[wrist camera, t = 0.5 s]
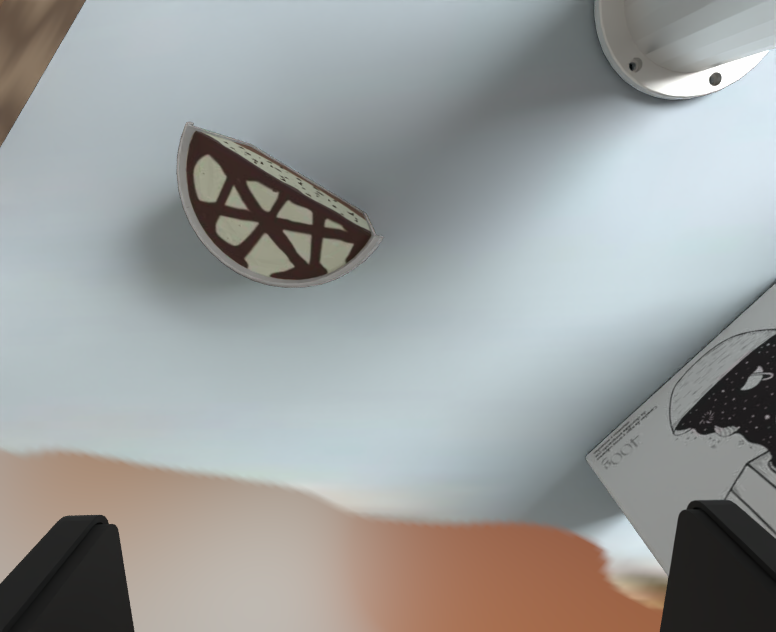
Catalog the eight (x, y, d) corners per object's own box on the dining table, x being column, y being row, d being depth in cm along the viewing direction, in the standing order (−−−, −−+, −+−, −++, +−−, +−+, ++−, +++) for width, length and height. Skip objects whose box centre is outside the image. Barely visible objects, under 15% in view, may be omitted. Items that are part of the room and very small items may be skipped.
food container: (194, 209, 37) (128, 223, 28) (231, 132, 36) (176, 118, 26) (342, 294, 39) (329, 334, 29) (383, 223, 38) (384, 241, 28)
